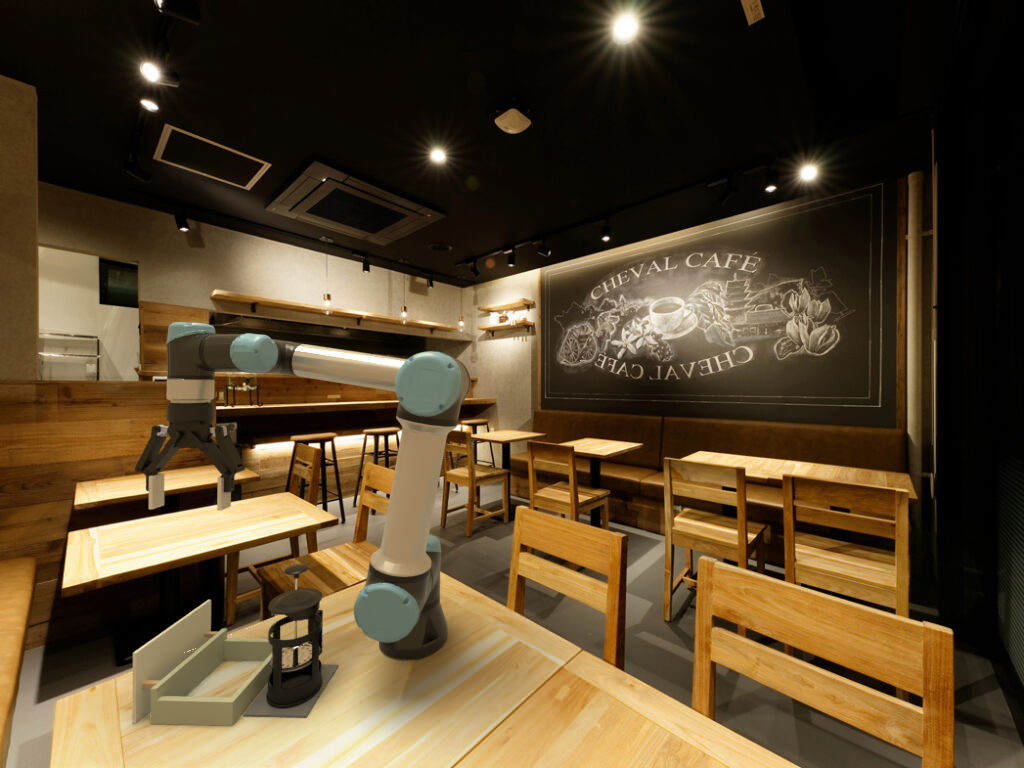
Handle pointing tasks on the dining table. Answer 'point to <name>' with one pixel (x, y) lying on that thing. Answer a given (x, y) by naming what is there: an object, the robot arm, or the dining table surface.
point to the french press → (295, 644)
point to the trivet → (301, 711)
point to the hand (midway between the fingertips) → (190, 508)
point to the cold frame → (194, 673)
